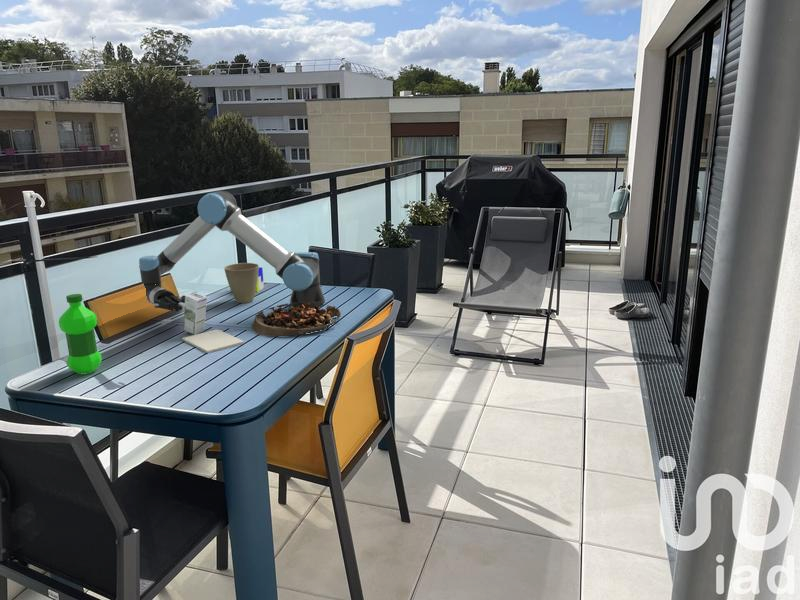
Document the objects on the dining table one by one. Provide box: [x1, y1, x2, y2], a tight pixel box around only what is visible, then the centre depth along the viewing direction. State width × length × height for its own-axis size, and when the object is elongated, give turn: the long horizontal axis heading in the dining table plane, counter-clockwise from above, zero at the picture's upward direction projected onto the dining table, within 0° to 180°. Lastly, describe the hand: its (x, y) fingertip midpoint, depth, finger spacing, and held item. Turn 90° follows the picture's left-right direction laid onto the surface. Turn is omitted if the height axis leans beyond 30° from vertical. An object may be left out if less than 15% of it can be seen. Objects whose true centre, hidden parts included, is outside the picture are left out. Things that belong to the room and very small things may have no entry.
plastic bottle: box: [58, 293, 103, 375], centre depth 191 cm, size 10×10×25 cm
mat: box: [181, 329, 245, 354], centre depth 220 cm, size 20×14×1 cm
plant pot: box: [223, 262, 260, 304], centre depth 272 cm, size 15×15×16 cm
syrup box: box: [183, 291, 208, 335], centre depth 228 cm, size 6×6×14 cm
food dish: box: [251, 302, 342, 337], centre depth 239 cm, size 35×33×8 cm
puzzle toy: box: [255, 266, 265, 293], centre depth 293 cm, size 10×10×10 cm
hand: (187, 309), depth 229 cm, fingers closed
